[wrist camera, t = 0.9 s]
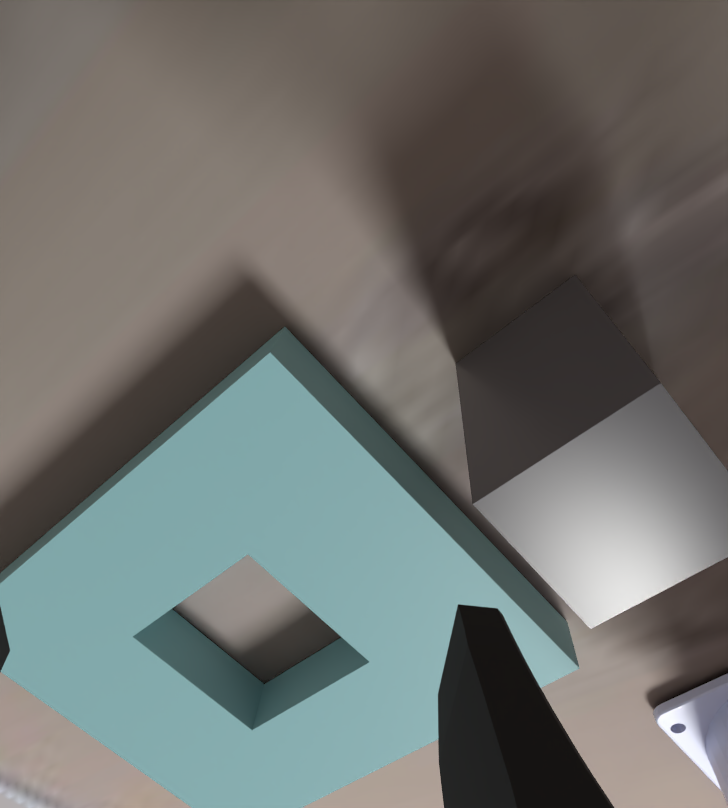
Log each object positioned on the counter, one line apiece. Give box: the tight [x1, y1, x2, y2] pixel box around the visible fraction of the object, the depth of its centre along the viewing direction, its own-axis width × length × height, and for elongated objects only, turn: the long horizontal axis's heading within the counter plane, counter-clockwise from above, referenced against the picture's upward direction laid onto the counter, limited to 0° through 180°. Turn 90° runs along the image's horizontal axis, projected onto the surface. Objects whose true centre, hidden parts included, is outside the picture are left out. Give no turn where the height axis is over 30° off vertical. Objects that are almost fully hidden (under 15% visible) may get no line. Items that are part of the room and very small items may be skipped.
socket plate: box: [0, 327, 579, 808], centre depth 23 cm, size 14×16×2 cm
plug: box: [456, 275, 728, 629], centre depth 16 cm, size 4×4×7 cm
